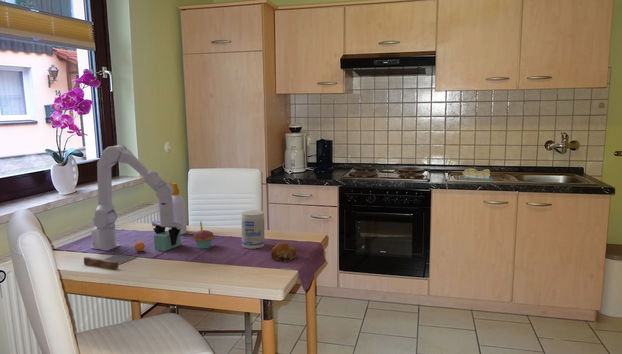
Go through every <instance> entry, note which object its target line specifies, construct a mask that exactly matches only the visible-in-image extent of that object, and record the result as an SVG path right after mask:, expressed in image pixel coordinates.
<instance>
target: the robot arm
mask: <svg viewBox="0 0 622 354" xmlns="http://www.w3.org/2000/svg"><path fill="white" fill-rule="evenodd" d="M101 152H102V153H101V155H100V157H99V159H98V160H97V161H96V162H97V163H96V167H97V168H96V170H97V171H96V173H97V174H96V175H97V199H98V200H97V202H98V203H97V206H96V209H95V210H94V216H93V219H92V222H93V226H95V227H93V228H92V230H91V246H90V249H96V250H100V251H101V250H102V251H109V250H113V249H115V248H119V247H121V246H122V244H120V243H117V233H116V224H115V223H116V221H117V219H118V215H117V212H116V208H115V205H114V204H113V186H112V183H113V182H112V167H113V166H115V165H116V164H117V163H121V164H127V165H129V166H130V167H131V168H132V169H134V170H135V171H136V172H137V173H139V174H140V175H141V176H142V179H143V182H144V183H145V184H147V186H149V187H150V189H151V190H153V191H154V192H155V195H156V198H158V213H159V214H158V218H159V220H154V221H151V226H152V227H153V231H154V232H155V235H156V234H159V233H162V232H164V231H166V228H167V230H168V228H172V229H169V230H168V231H169V234H170V238H171V245H175V244H176V241H177V237H178V234H179V232H180V230H181V229H182V224H180V223H176V222H175V221H174V216H173V200H172V194H173V192H174V188H173V186H172V185H171V184H170V183H171V182H167V181H166V180H165V179H163V178H162V177H161V176H160V175H159V173H158V172H157V171H154V170H149V169H148V168H147V167H146V166H145V165H144V164H143V163H142V162H141V161H140V160H139V159H138V157H136V156H135V154H134V153H133V152H132V151H131V150H130V149H128V148H127V146H125V145H124V144H116V145H113V146H107V147H106V148H105V149H103V150H102V151H101Z"/></svg>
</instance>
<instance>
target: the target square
mask: <svg viewBox="0 0 622 354" xmlns="http://www.w3.org/2000/svg"><path fill="white" fill-rule="evenodd" d="M137 258H138V257H136V256H134V255H133V256H131V255H125V254H119V253H118V254H115V255H112V256H109V257H107V258H104V259H103V260H109V261H115V262H118V266H119V264H120V265H122V264H124V263H126V262H129V260H130V261H132V260H135V259H137Z"/></svg>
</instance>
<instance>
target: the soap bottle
mask: <svg viewBox="0 0 622 354" xmlns="http://www.w3.org/2000/svg"><path fill="white" fill-rule="evenodd" d="M169 183H170V184H171V185H172V186H173V188H174V192H173V194H172V195H171V196H172V200H173V216H174V221H175V222H176V223H180V224H182V229H181V230H180V236H182V235H184V234H187V232H188V231H187V229H188V227H187V210H186V201H185V199H184V198H183V196H182V195H180V189H179V187H178V183H177V182H173V183H172V182H169ZM169 229H172V228H168V227H167V230H169Z"/></svg>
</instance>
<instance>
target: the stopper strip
mask: <svg viewBox="0 0 622 354" xmlns="http://www.w3.org/2000/svg"><path fill="white" fill-rule="evenodd" d="M83 264H84V265H88V266H94V267H99V268H105V269H110V268H111V270H118V269H119V265H118V262H115V261H109V260H103V259H102V258H96V257H90V256H85V257H83Z"/></svg>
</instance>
